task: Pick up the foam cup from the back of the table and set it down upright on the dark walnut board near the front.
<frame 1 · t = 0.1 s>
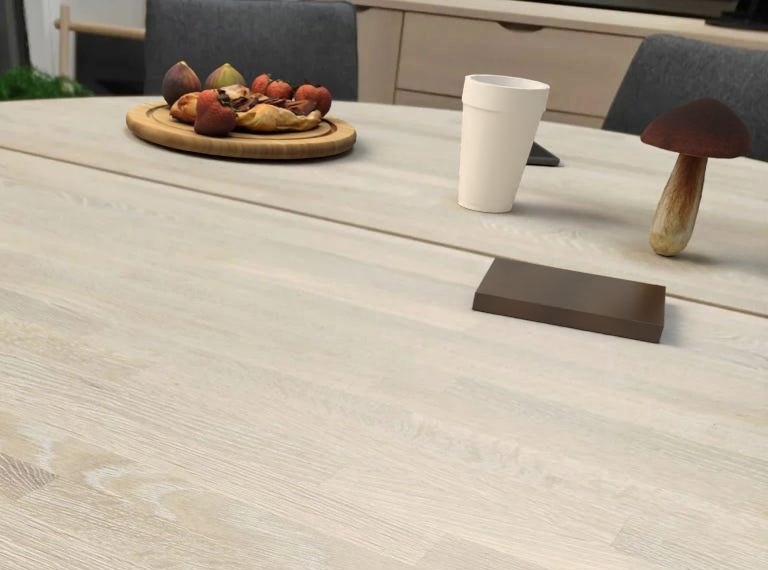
cell phone: (521, 155, 145), on the table
decorative mushroom: (663, 256, 107), on the table
foam cup: (484, 207, 118), on the table
walnut board: (569, 305, 90), on the table
wooden plate: (241, 139, 139), on the table
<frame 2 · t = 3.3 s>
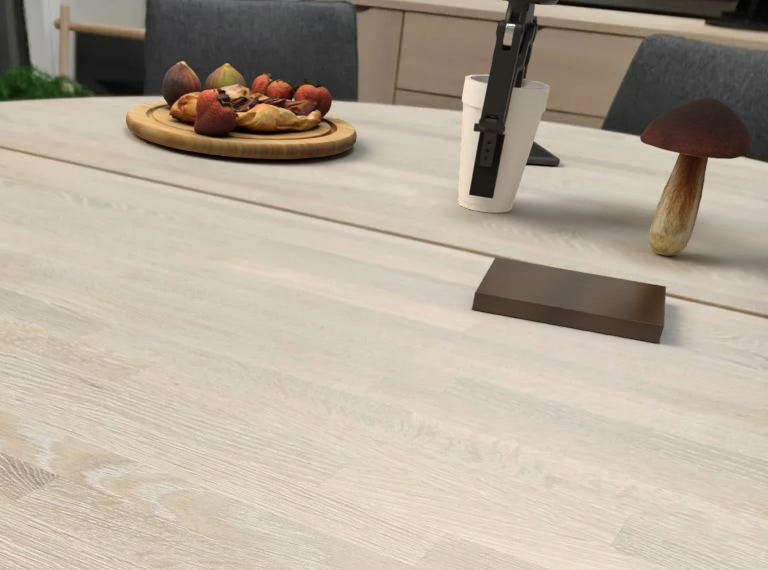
hand: (487, 187, 117), 2 cm above the table, tool pointing down, fingers closed on foam cup, 9 cm apart
foam cup: (484, 207, 118), on the table, touching gripper
everything else where it was.
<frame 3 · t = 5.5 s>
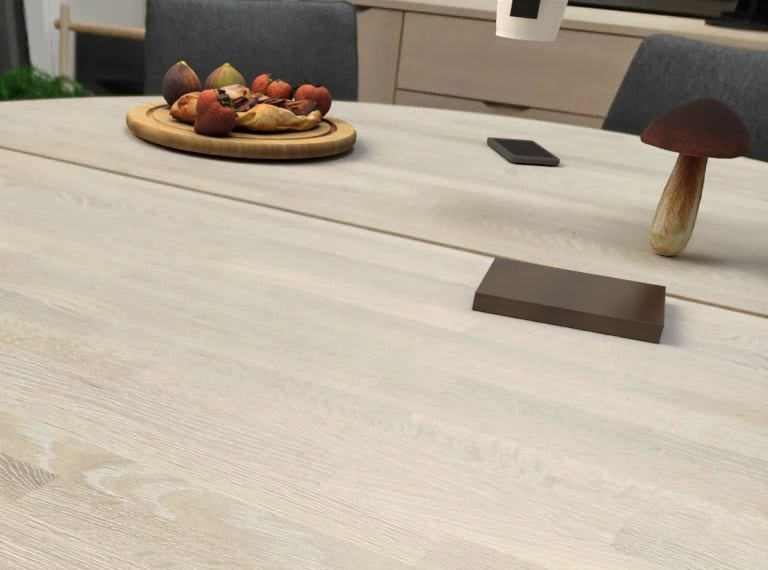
hand: (529, 14, 104), 20 cm above the table, tool pointing down, fingers closed on foam cup, 9 cm apart
foam cup: (524, 39, 105), point 17 cm above the table, touching gripper
everything else where it was.
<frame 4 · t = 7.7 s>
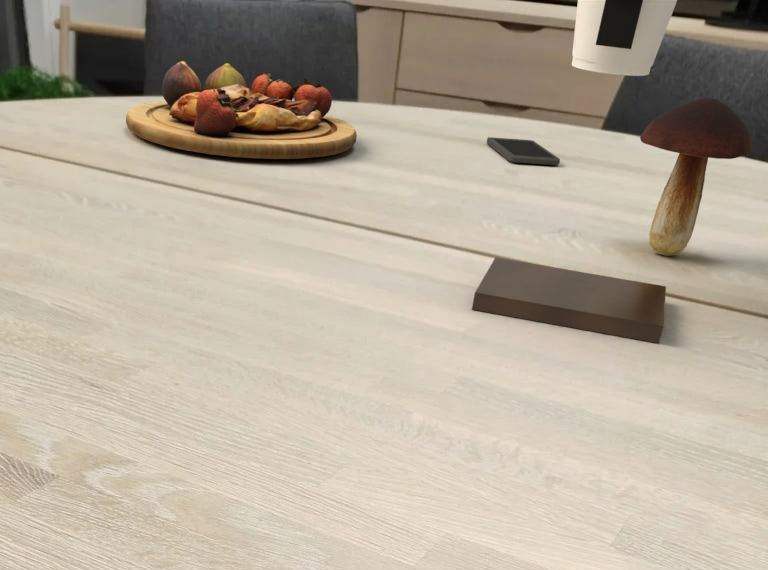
hand: (617, 41, 81), 20 cm above the table, tool pointing down, fingers closed on foam cup, 9 cm apart
foam cup: (609, 72, 82), point 18 cm above the table, touching gripper
everything else where it was.
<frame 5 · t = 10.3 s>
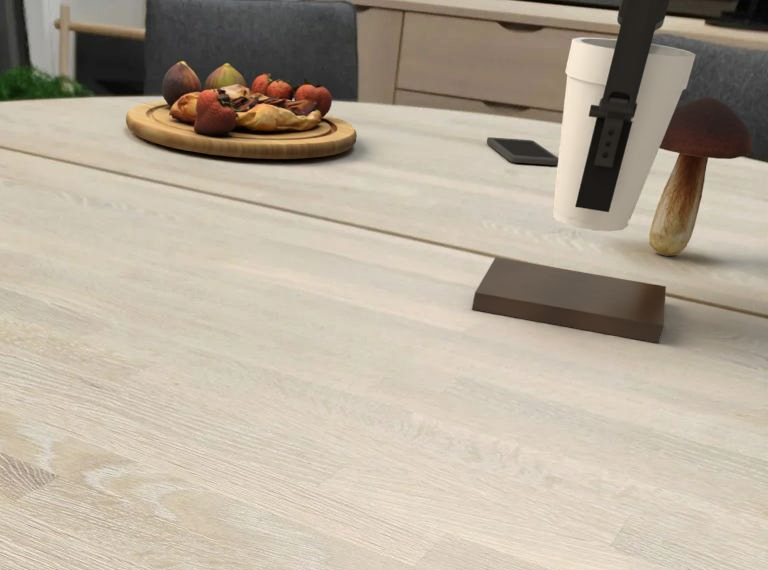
hand: (596, 195, 84), 9 cm above the table, tool pointing down, fingers closed on foam cup, 9 cm apart
foam cup: (588, 223, 86), point 7 cm above the table, touching gripper
everything else where it was.
when the fingers open (3 cm above the table, at t = 12.2 s): foam cup stays where it is, resting on walnut board.
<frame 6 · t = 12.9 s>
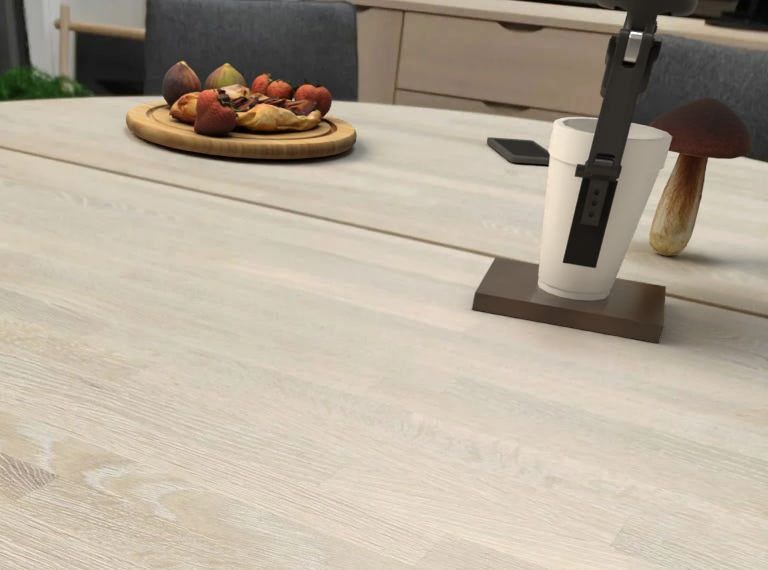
hand: (585, 244, 87), 5 cm above the table, tool pointing down, fingers open, 13 cm apart
foam cup: (572, 291, 89), point 1 cm above the table, touching walnut board
everything else where it was.
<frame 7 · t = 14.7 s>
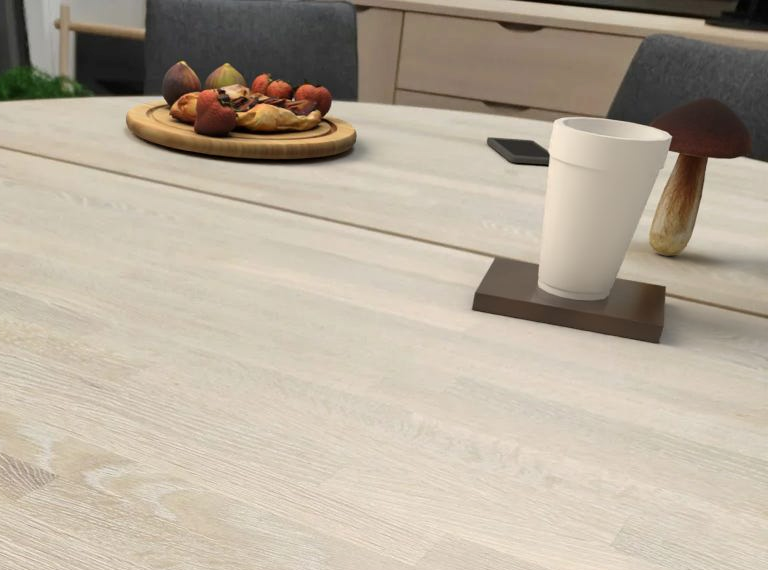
nothing on the table moved.
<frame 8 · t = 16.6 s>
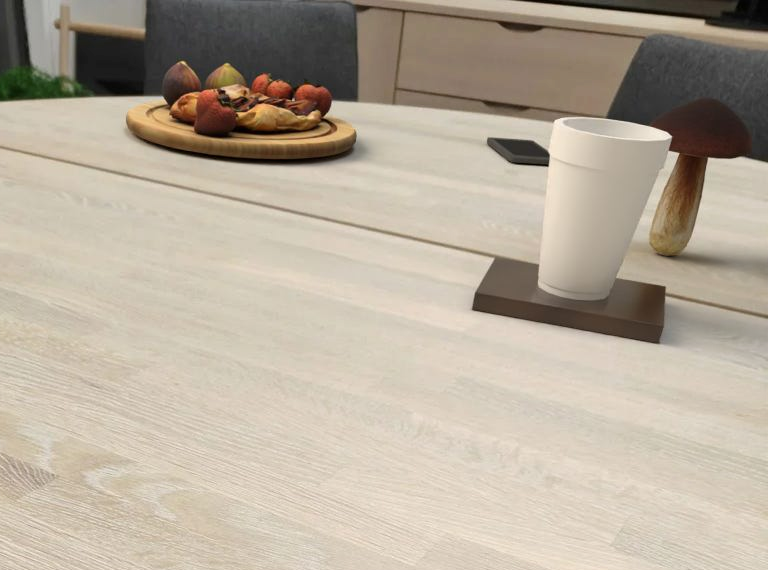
nothing on the table moved.
at the end: foam cup inside the target area on the walnut board (0.1 cm from its centre), point 1.3 cm above the walnut board's base; foam cup tilted 0° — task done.
